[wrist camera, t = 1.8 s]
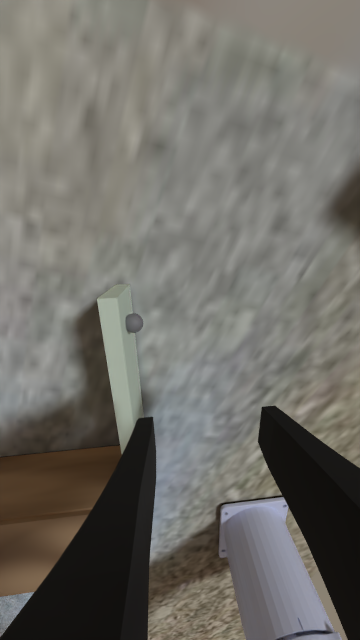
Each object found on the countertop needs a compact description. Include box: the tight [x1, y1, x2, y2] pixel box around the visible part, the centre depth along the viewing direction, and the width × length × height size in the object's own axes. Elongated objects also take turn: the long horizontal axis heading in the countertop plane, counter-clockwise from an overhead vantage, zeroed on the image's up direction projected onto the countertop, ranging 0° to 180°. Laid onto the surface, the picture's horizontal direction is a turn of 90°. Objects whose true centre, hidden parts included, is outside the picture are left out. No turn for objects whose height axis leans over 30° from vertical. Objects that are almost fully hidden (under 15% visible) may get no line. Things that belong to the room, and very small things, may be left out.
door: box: [97, 284, 144, 454], centre depth 15 cm, size 14×2×5 cm, turn 2°
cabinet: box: [0, 445, 122, 597], centre depth 18 cm, size 10×15×6 cm, turn 92°
